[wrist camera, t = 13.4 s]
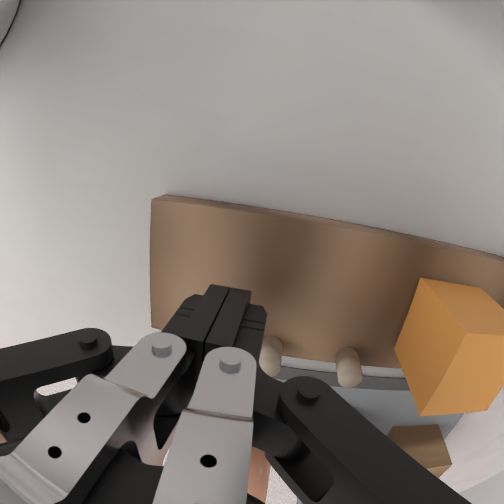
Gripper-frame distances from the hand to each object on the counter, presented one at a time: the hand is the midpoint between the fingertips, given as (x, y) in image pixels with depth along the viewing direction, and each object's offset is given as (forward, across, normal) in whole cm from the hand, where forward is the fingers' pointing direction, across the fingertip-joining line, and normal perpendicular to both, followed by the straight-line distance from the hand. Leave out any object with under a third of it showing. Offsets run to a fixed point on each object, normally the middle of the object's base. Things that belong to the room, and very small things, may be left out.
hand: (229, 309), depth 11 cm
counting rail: (+4, -7, 0) cm, 8 cm away
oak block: (+3, -13, +12) cm, 18 cm away
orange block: (+2, -10, 0) cm, 11 cm away
